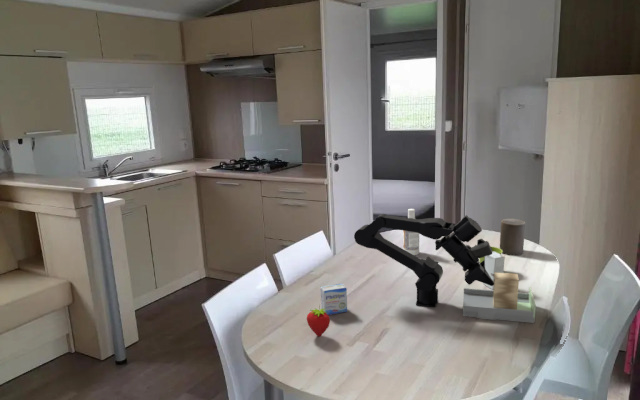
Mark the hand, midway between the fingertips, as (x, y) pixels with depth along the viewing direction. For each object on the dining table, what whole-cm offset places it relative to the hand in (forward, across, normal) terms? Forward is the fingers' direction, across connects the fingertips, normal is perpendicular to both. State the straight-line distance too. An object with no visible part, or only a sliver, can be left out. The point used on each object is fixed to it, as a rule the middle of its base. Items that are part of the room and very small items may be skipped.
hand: (493, 284), depth 154 cm
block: (+7, 0, +2) cm, 8 cm away
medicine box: (-29, -12, +42) cm, 52 cm away
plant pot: (+6, +35, +6) cm, 36 cm away
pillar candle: (+13, +60, 0) cm, 62 cm away
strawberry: (-29, -29, +41) cm, 58 cm away
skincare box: (+7, +20, +6) cm, 22 cm away
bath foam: (-17, +50, +29) cm, 60 cm away
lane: (+7, 0, +5) cm, 9 cm away
